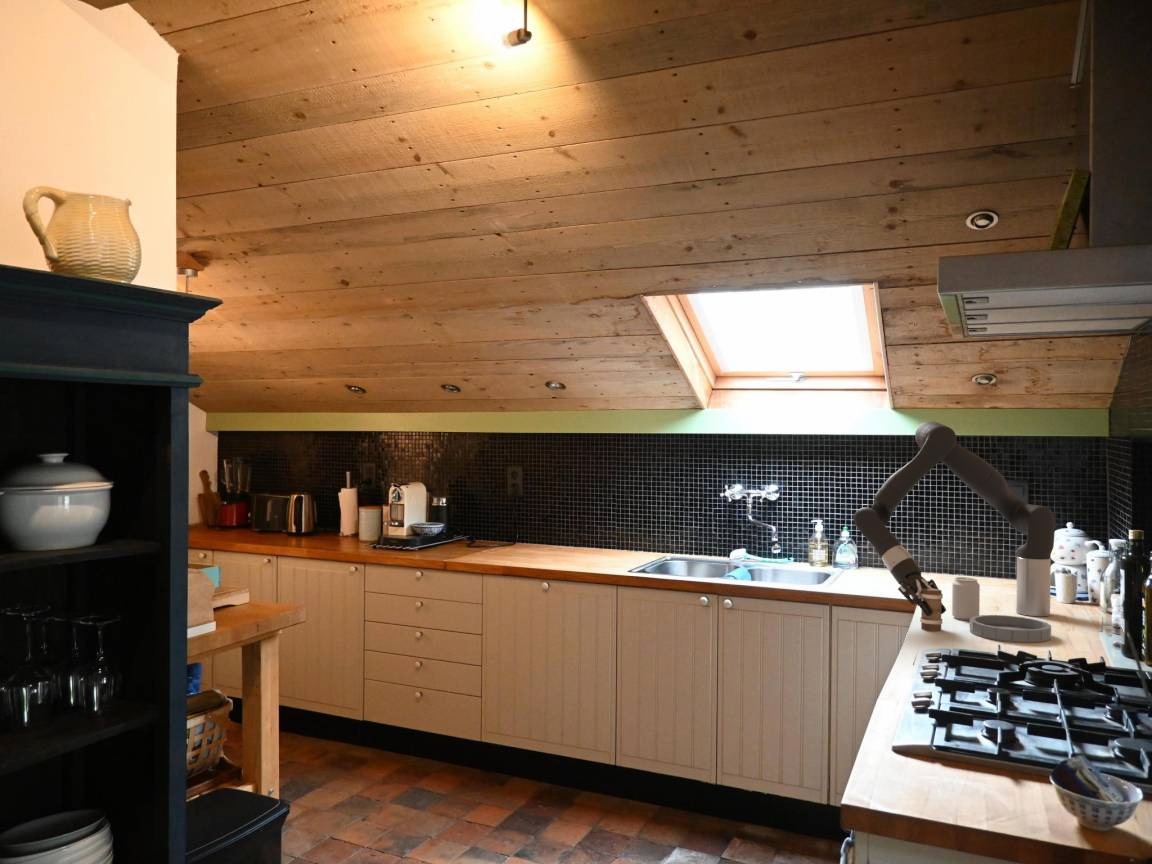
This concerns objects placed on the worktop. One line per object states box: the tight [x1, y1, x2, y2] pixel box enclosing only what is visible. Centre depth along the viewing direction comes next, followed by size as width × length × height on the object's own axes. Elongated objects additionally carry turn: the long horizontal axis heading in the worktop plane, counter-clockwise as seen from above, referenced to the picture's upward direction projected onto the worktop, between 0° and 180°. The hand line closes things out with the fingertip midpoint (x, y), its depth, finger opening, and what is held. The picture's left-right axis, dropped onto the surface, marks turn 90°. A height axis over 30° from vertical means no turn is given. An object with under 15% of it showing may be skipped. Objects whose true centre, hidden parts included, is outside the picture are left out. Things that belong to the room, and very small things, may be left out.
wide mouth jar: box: [951, 576, 981, 622], centre depth 269 cm, size 8×8×12 cm
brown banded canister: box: [919, 588, 944, 632], centre depth 254 cm, size 6×6×11 cm
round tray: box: [969, 614, 1052, 644], centre depth 248 cm, size 20×20×3 cm
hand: (937, 613), depth 252 cm, fingers closed on brown banded canister, 5 cm apart
